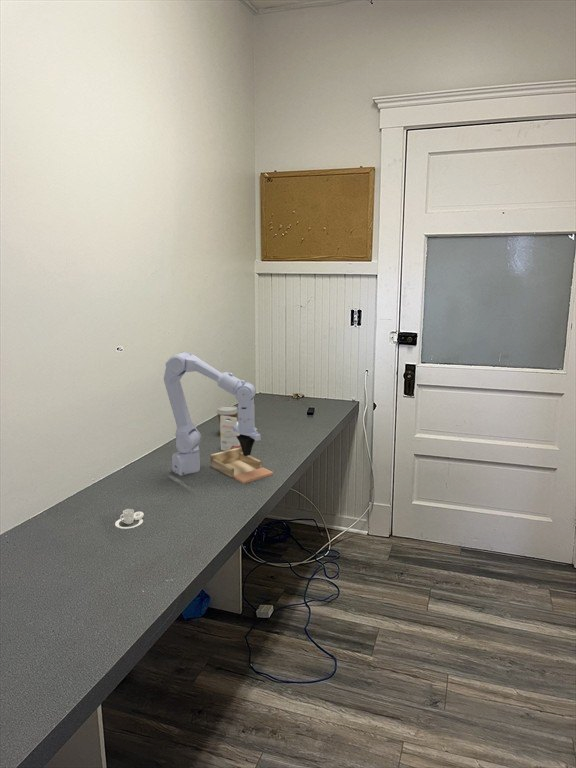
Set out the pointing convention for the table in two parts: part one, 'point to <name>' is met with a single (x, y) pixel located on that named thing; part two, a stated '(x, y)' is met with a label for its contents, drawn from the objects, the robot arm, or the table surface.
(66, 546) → the table surface
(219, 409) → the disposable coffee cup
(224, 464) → the tray
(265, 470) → the panel
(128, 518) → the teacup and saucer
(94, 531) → the table surface
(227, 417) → the ink cartridge box
